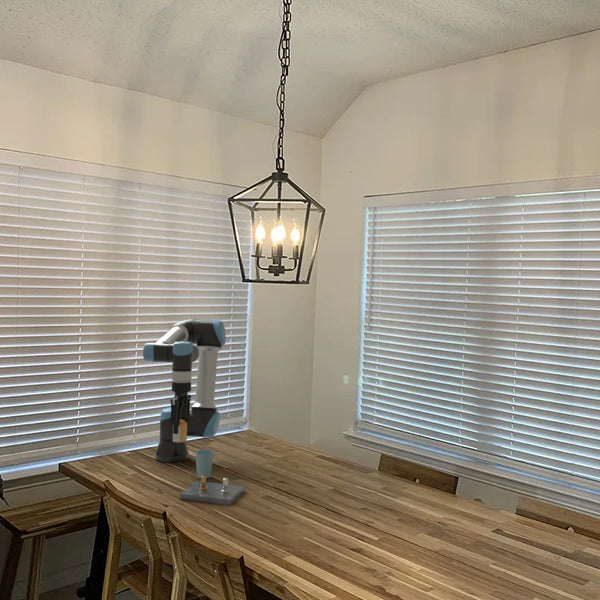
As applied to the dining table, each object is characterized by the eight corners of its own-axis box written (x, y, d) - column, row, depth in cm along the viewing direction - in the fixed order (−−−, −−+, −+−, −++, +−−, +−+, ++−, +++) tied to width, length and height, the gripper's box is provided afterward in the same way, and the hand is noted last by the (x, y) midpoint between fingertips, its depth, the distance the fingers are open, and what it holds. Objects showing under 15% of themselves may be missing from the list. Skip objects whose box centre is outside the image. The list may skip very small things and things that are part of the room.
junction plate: (196, 485, 251) (197, 468, 251) (244, 491, 246) (244, 473, 246) (179, 498, 235) (180, 480, 235) (230, 505, 230) (230, 486, 230)
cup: (209, 472, 268) (209, 448, 268) (215, 478, 262) (216, 453, 261) (192, 475, 264) (192, 450, 264) (198, 480, 258) (199, 455, 257)
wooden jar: (176, 438, 250) (177, 418, 250) (188, 439, 249) (189, 419, 249) (170, 441, 245) (171, 421, 245) (182, 442, 244) (183, 422, 244)
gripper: (182, 377, 256) (181, 434, 257) (162, 383, 239) (160, 444, 239) (199, 378, 255) (197, 435, 255) (180, 385, 237) (178, 446, 237)
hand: (179, 439), depth 247 cm, fingers closed on wooden jar, 5 cm apart
